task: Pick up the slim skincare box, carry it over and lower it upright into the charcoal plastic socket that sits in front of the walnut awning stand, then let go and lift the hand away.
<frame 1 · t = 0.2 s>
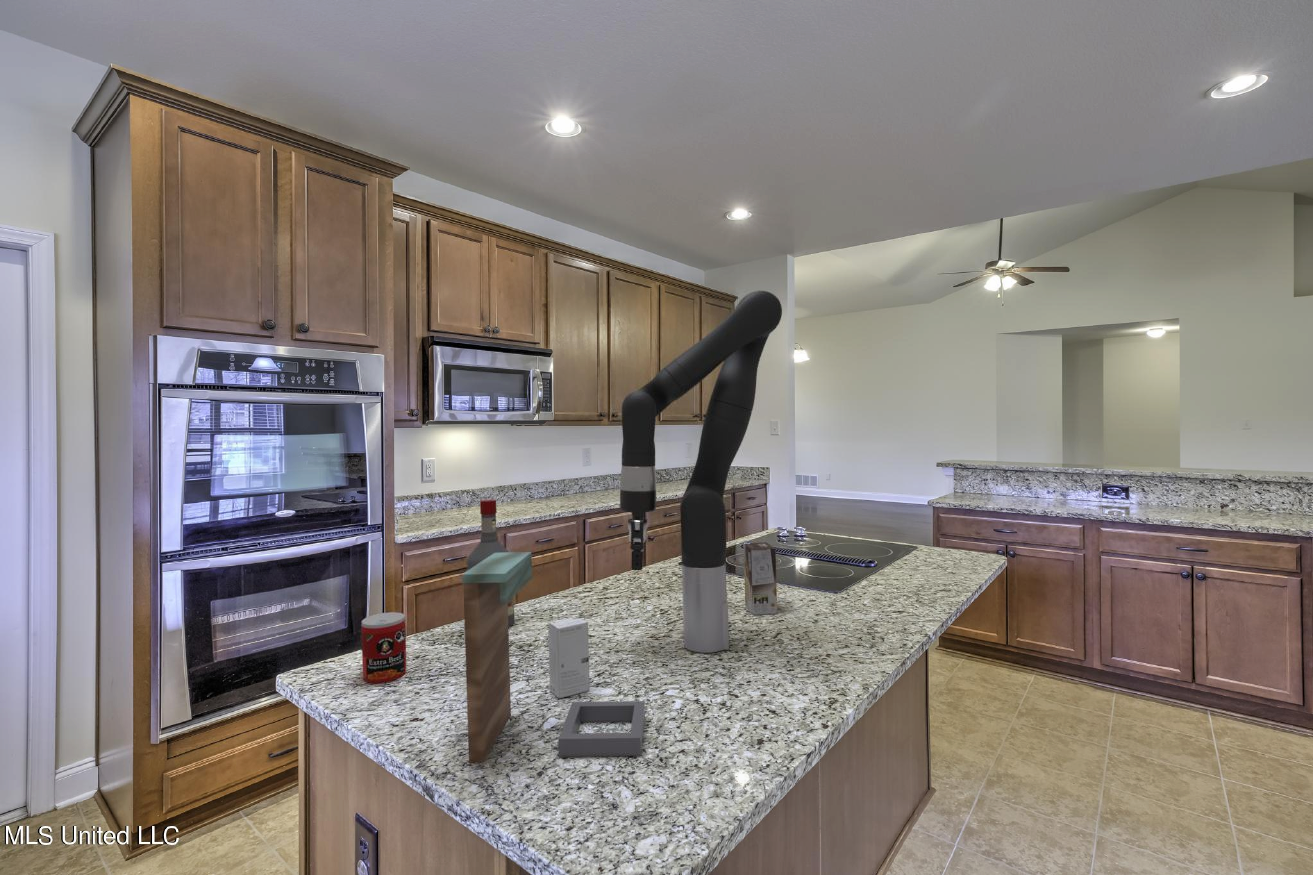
hand: (637, 565, 125), 17 cm above the countertop, tool pointing down, fingers open, 8 cm apart
awning stand: (504, 736, 90), on the countertop
canned food: (385, 676, 115), on the countertop
socket: (604, 735, 89), on the countertop
skincare box: (570, 691, 106), on the countertop
coffee box: (760, 610, 150), on the countertop
liquor: (492, 627, 142), on the countertop
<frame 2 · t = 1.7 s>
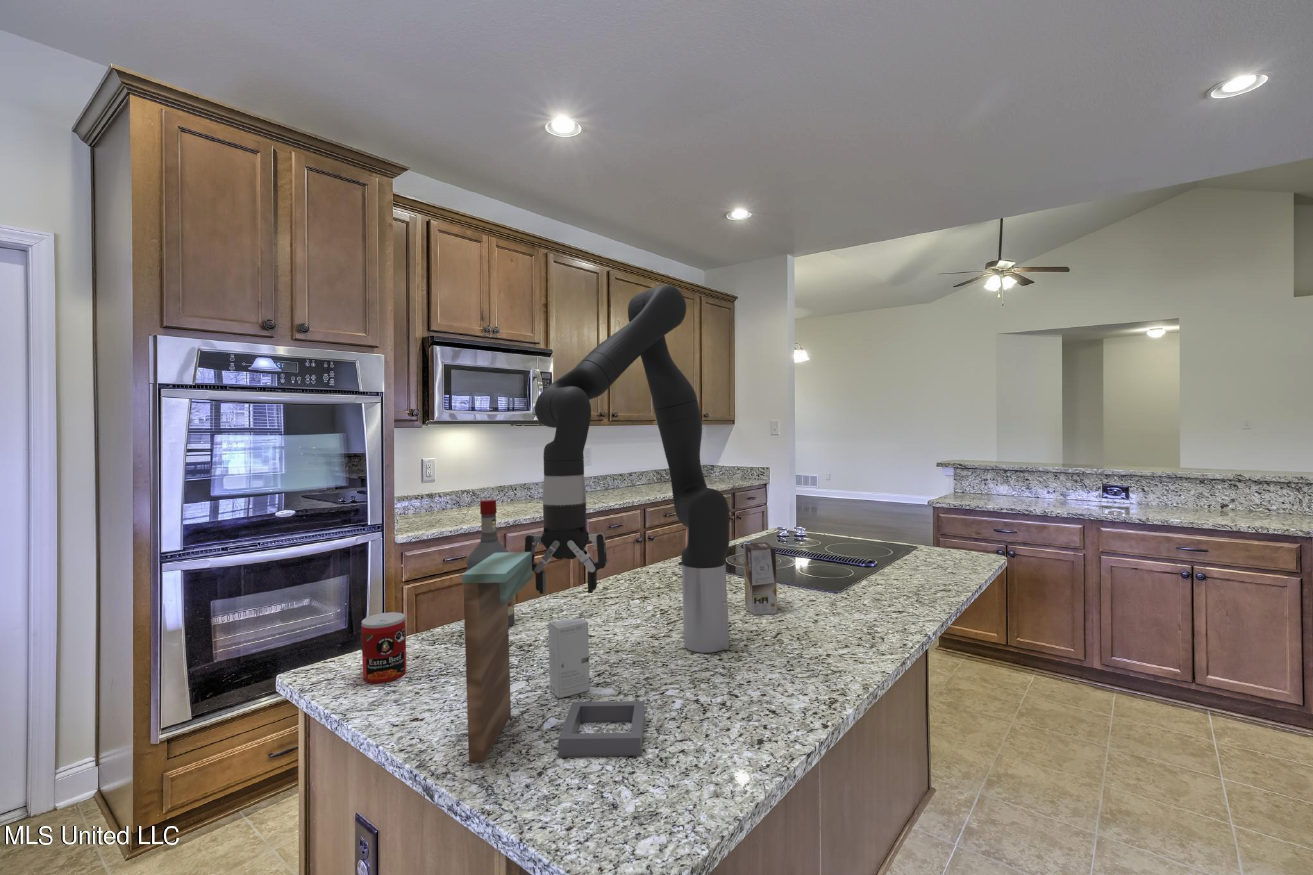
hand: (566, 592, 105), 17 cm above the countertop, tool pointing down, fingers open, 8 cm apart
nothing on the countertop moved.
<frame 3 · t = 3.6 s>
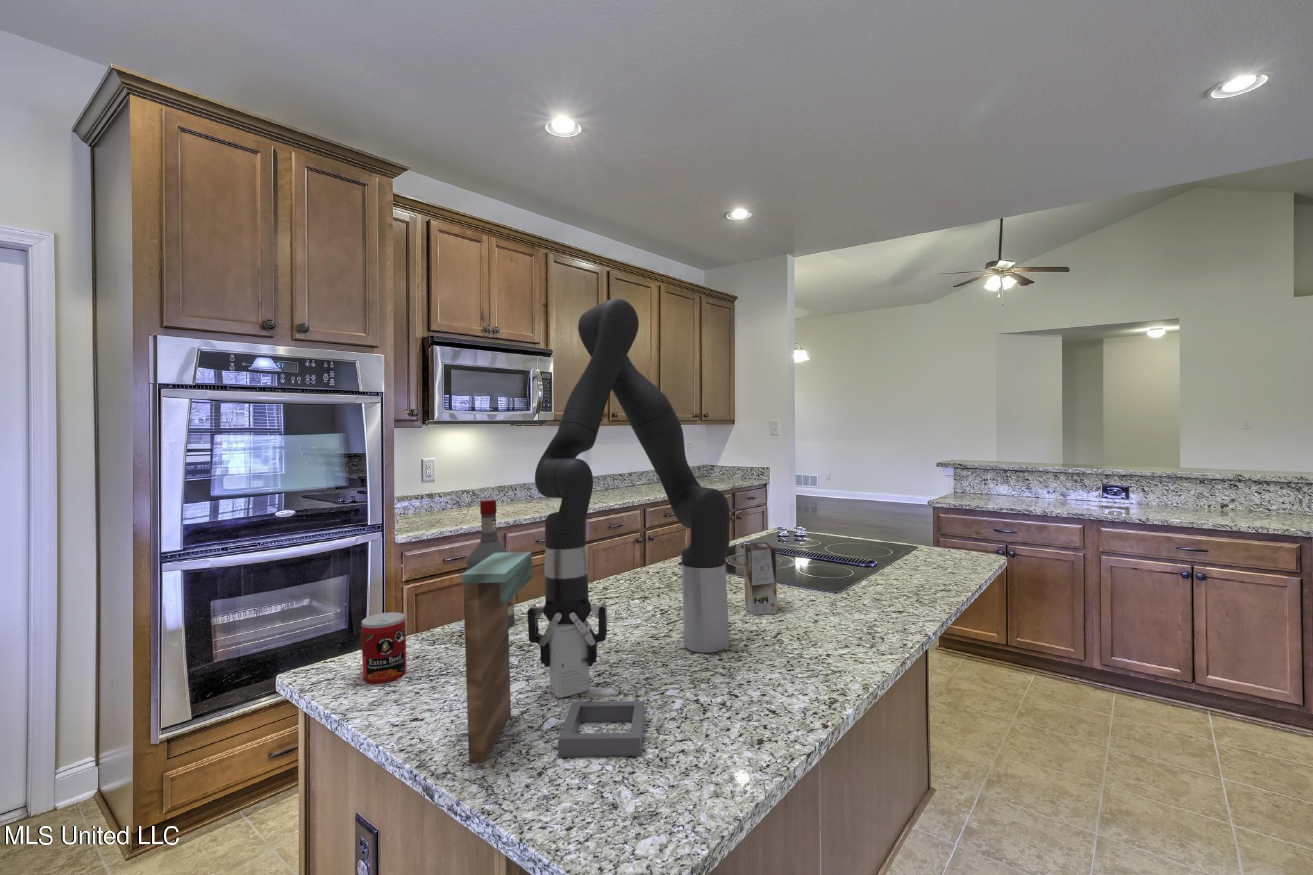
hand: (569, 664, 105), 4 cm above the countertop, tool pointing down, fingers closed on skincare box, 7 cm apart
skincare box: (570, 691, 106), on the countertop, touching gripper
everything else where it was.
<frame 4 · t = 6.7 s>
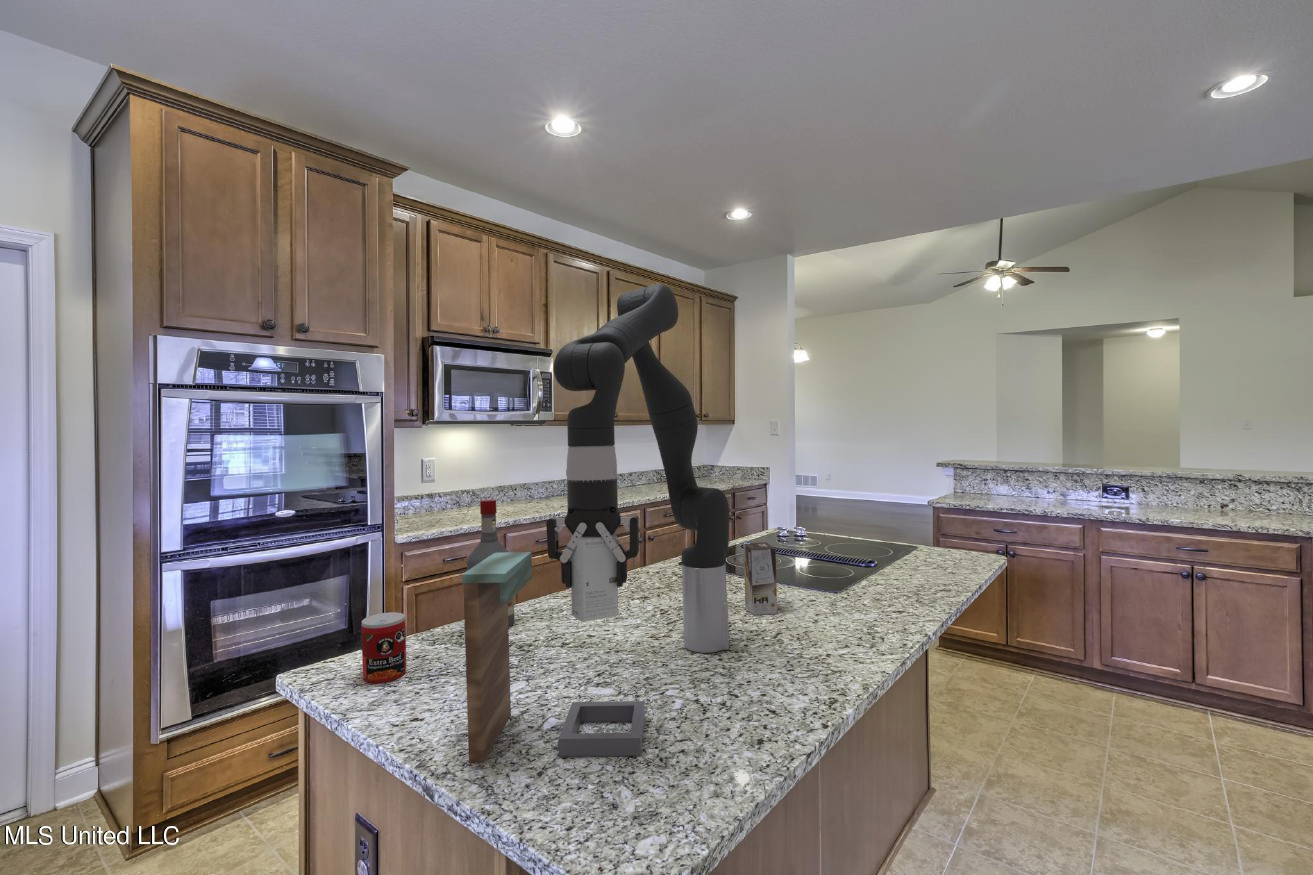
hand: (594, 585, 90), 22 cm above the countertop, tool pointing down, fingers closed on skincare box, 7 cm apart
skincare box: (595, 617, 90), point 17 cm above the countertop, touching gripper
everything else where it was.
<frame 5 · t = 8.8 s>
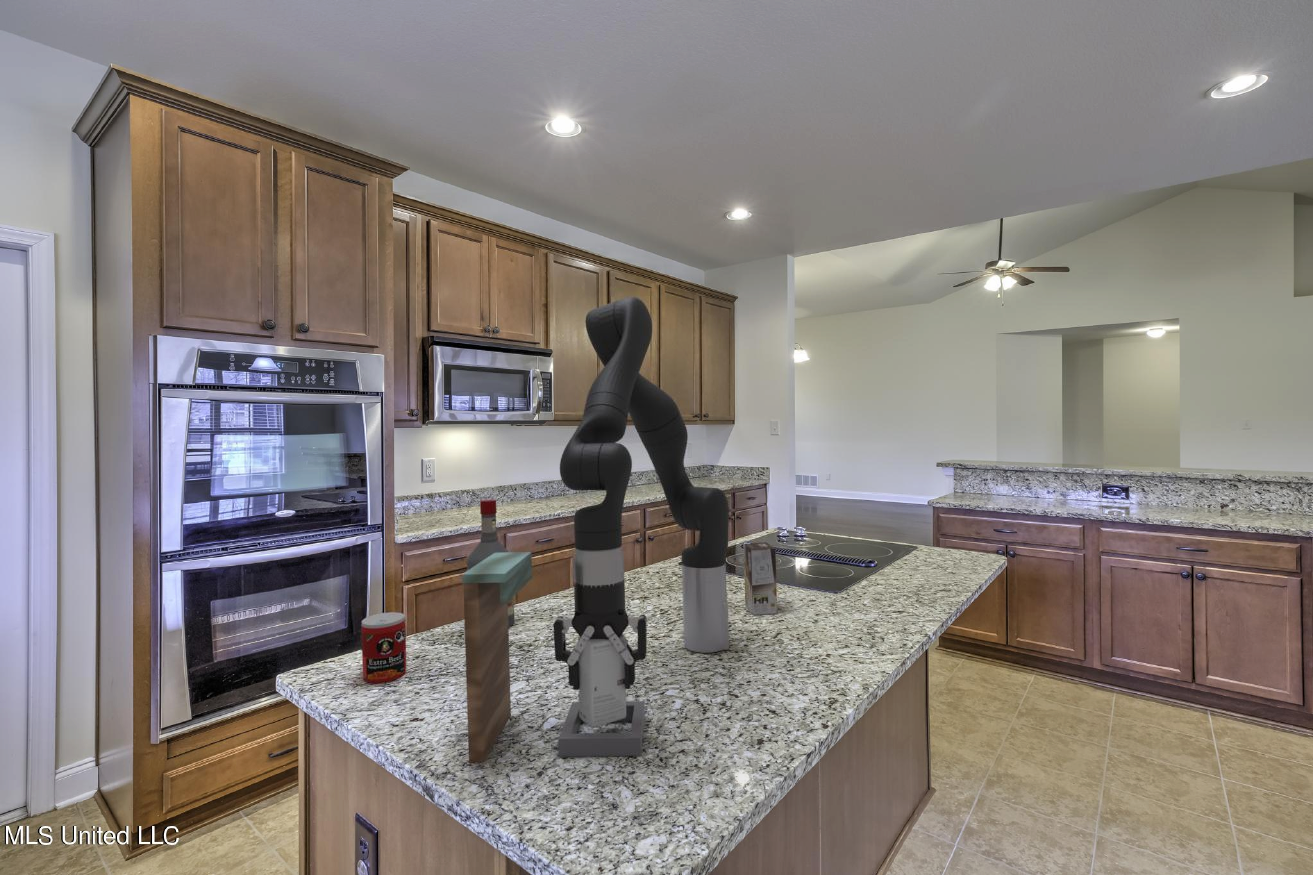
hand: (602, 687, 89), 7 cm above the countertop, tool pointing down, fingers closed on skincare box, 7 cm apart
skincare box: (603, 718, 89), point 2 cm above the countertop, touching gripper
everything else where it was.
when the fingers open (5 cm above the countertop, at t = 10.3 s): skincare box stays where it is, resting in socket.
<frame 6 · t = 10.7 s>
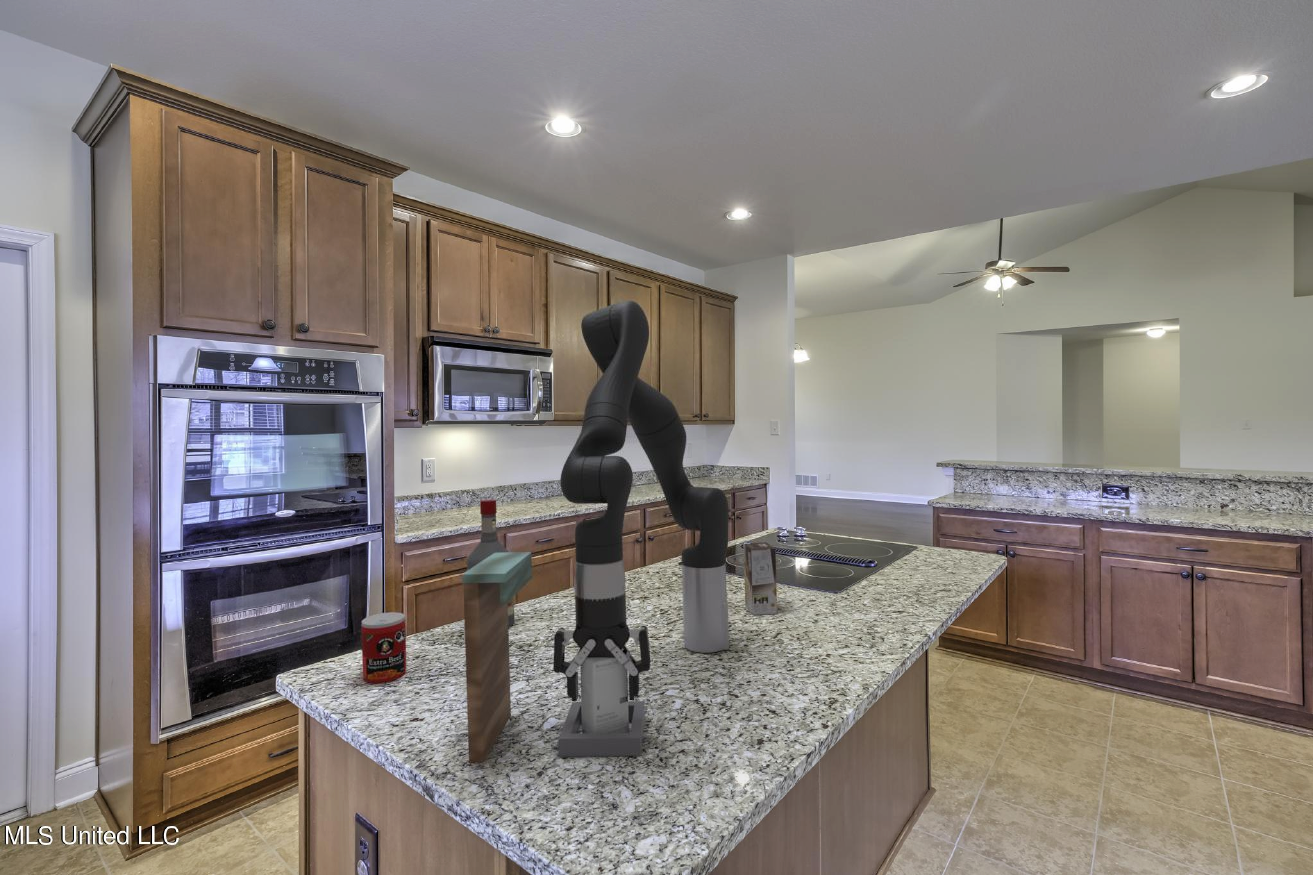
hand: (603, 698, 89), 6 cm above the countertop, tool pointing down, fingers open, 8 cm apart
skincare box: (605, 736, 89), resting in socket
everything else where it was.
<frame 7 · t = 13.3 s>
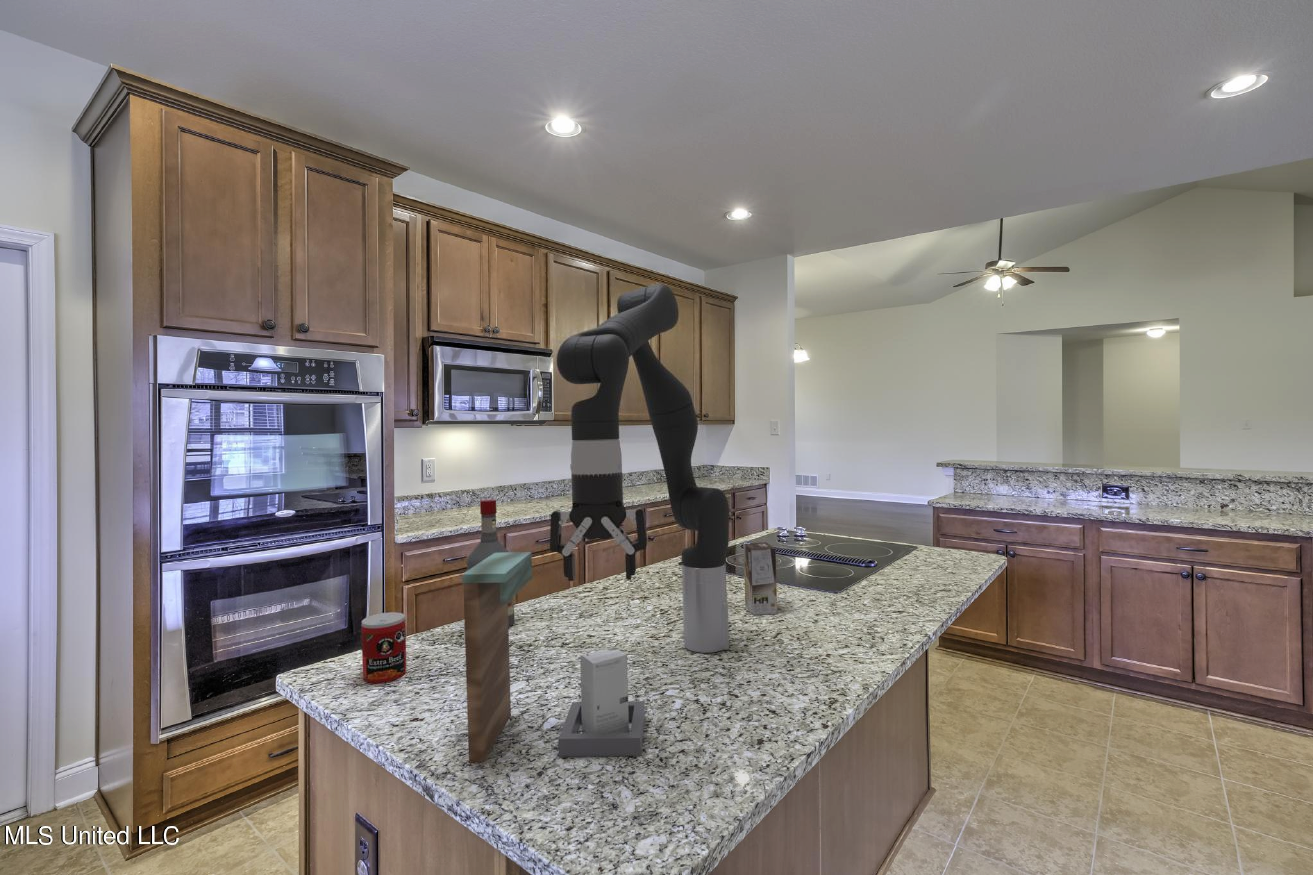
hand: (600, 579, 89), 23 cm above the countertop, tool pointing down, fingers open, 8 cm apart
nothing on the countertop moved.
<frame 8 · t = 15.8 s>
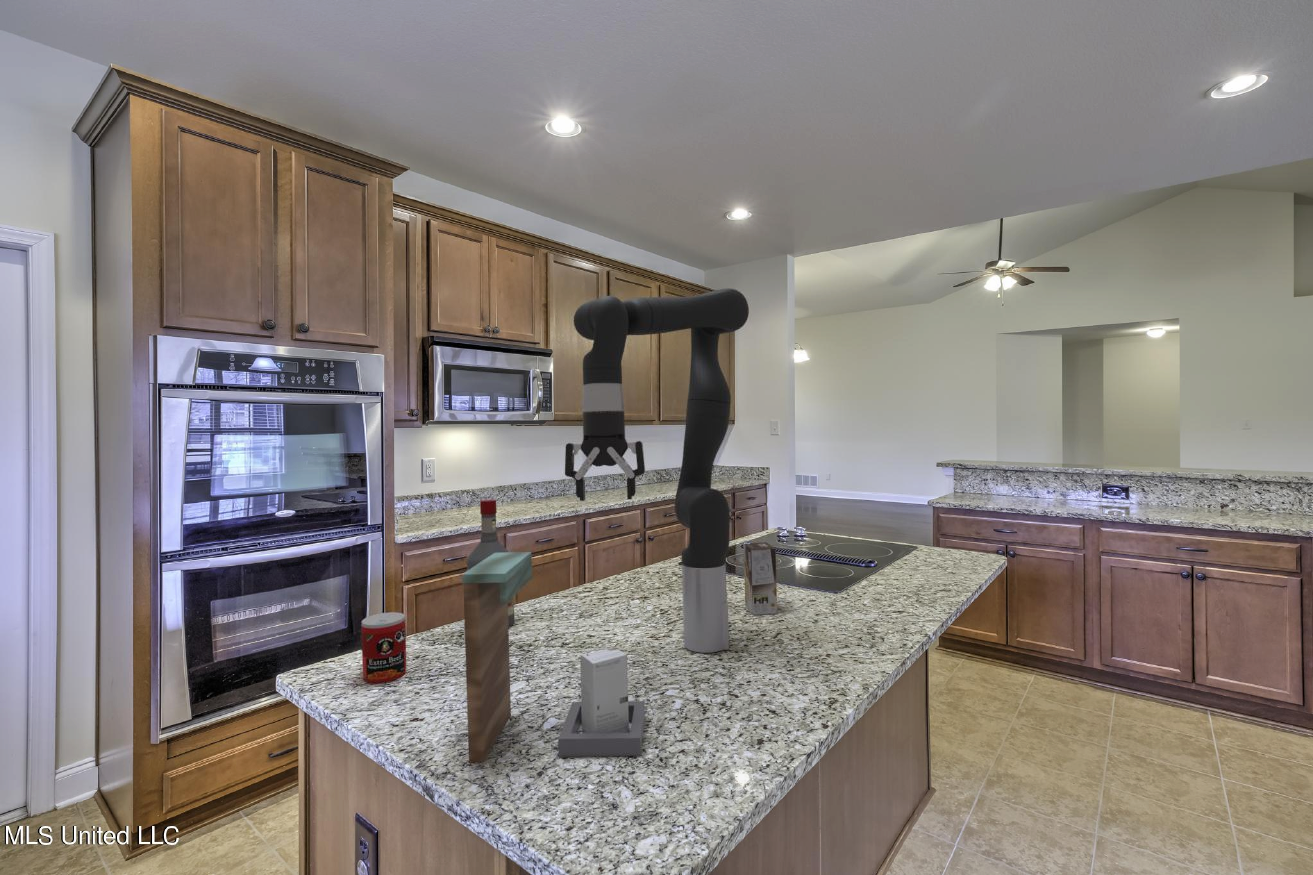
hand: (606, 499, 108), 33 cm above the countertop, tool pointing down, fingers open, 8 cm apart
nothing on the countertop moved.
at the end: skincare box 0.2 cm off-centre on the socket, point 0.0 cm above the socket's base; skincare box tilted 0°; the gripper is holding nothing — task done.
